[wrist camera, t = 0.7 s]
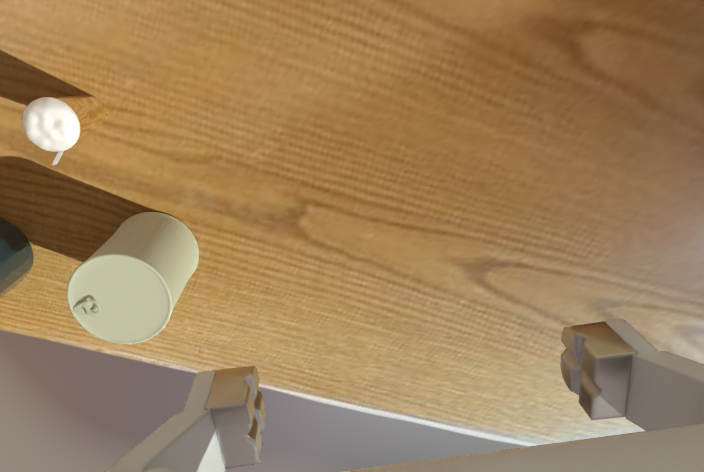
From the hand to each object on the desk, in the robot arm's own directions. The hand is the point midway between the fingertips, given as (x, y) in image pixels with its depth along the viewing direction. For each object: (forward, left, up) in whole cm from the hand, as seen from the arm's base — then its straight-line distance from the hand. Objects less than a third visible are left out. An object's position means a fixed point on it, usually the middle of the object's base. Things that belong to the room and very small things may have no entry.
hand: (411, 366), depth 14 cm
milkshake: (-3, -25, -43) cm, 49 cm away
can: (+12, -22, -43) cm, 49 cm away
